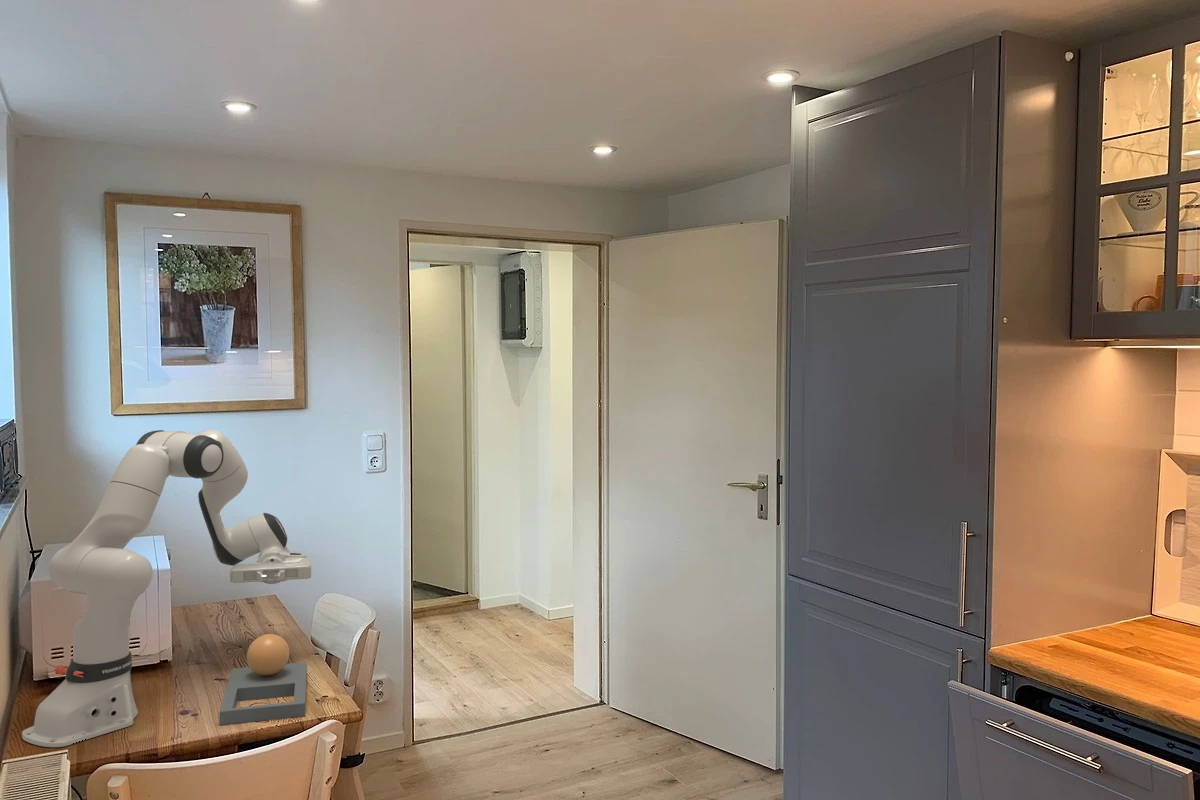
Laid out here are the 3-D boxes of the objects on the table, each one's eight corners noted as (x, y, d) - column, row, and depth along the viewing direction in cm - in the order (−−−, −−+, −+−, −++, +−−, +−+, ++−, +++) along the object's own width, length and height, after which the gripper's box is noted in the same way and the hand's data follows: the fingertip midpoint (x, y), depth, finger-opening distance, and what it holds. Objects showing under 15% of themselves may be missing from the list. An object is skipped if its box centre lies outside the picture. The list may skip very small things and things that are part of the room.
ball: (267, 684, 211) (267, 643, 211) (237, 677, 216) (237, 637, 215) (298, 671, 220) (298, 632, 220) (268, 665, 225) (268, 626, 224)
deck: (232, 680, 222) (232, 668, 222) (306, 673, 227) (306, 662, 227) (219, 725, 194) (219, 711, 194) (304, 716, 200) (304, 703, 200)
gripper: (231, 557, 236) (226, 569, 223) (311, 553, 242) (310, 564, 229) (231, 580, 236) (226, 593, 223) (311, 576, 242) (311, 588, 229)
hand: (270, 578), depth 226 cm, fingers closed
